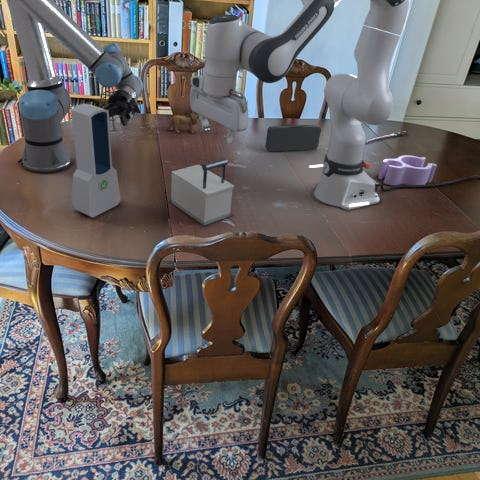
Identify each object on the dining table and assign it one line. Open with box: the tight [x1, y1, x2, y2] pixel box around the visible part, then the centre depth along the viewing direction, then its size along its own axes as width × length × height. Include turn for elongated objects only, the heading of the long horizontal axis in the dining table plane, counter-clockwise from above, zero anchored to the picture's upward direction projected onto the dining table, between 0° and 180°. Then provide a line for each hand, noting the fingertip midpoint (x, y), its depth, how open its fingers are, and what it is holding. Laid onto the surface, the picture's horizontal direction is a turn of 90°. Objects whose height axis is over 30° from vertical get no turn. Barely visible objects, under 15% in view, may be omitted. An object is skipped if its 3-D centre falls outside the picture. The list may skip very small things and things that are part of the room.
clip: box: [377, 154, 438, 186], centre depth 174 cm, size 20×12×7 cm, turn 109°
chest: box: [170, 173, 234, 226], centre depth 141 cm, size 16×10×10 cm, turn 42°
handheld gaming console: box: [264, 124, 322, 152], centre depth 189 cm, size 23×3×10 cm, turn 108°
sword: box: [365, 132, 406, 144], centre depth 214 cm, size 31×3×1 cm, turn 126°
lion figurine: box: [166, 111, 201, 134], centre depth 195 cm, size 15×5×9 cm, turn 110°
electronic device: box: [70, 103, 122, 218], centre depth 130 cm, size 12×8×30 cm, turn 148°
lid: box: [171, 158, 235, 196], centre depth 136 cm, size 17×10×8 cm, turn 42°
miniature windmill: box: [98, 85, 123, 130], centre depth 187 cm, size 9×8×30 cm
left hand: (101, 127), depth 138 cm, fingers open, 13 cm apart
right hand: (216, 136), depth 126 cm, fingers open, 8 cm apart
